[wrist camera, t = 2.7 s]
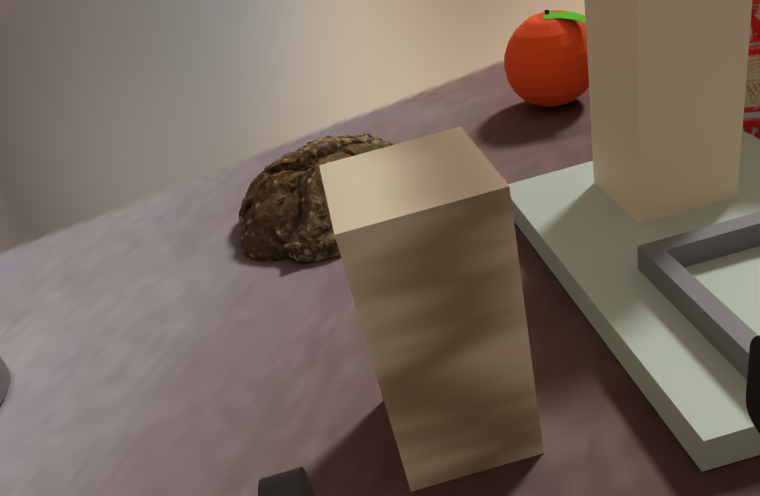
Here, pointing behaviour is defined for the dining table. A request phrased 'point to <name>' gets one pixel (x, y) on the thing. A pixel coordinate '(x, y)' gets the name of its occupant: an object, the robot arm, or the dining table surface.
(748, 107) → the stack of blocks
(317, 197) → the bread roll
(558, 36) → the clementine
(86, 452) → the dining table surface
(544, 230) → the baseplate
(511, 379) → the maple pillar
